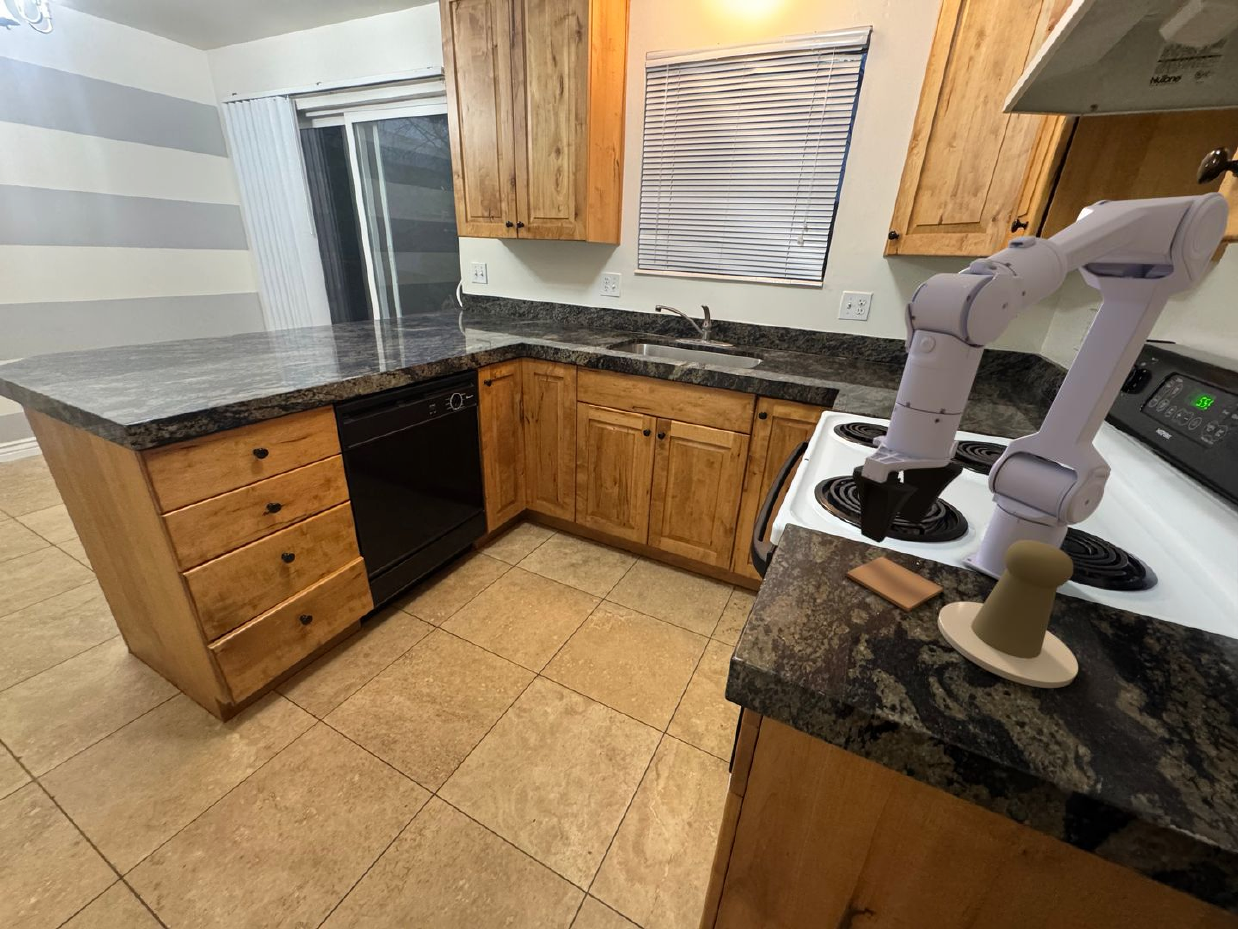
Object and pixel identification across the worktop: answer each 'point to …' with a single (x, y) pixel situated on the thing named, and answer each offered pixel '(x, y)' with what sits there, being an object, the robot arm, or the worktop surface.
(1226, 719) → the worktop surface
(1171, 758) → the worktop surface
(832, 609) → the worktop surface
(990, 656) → the plate
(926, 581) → the cork trivet
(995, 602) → the pepper shaker
